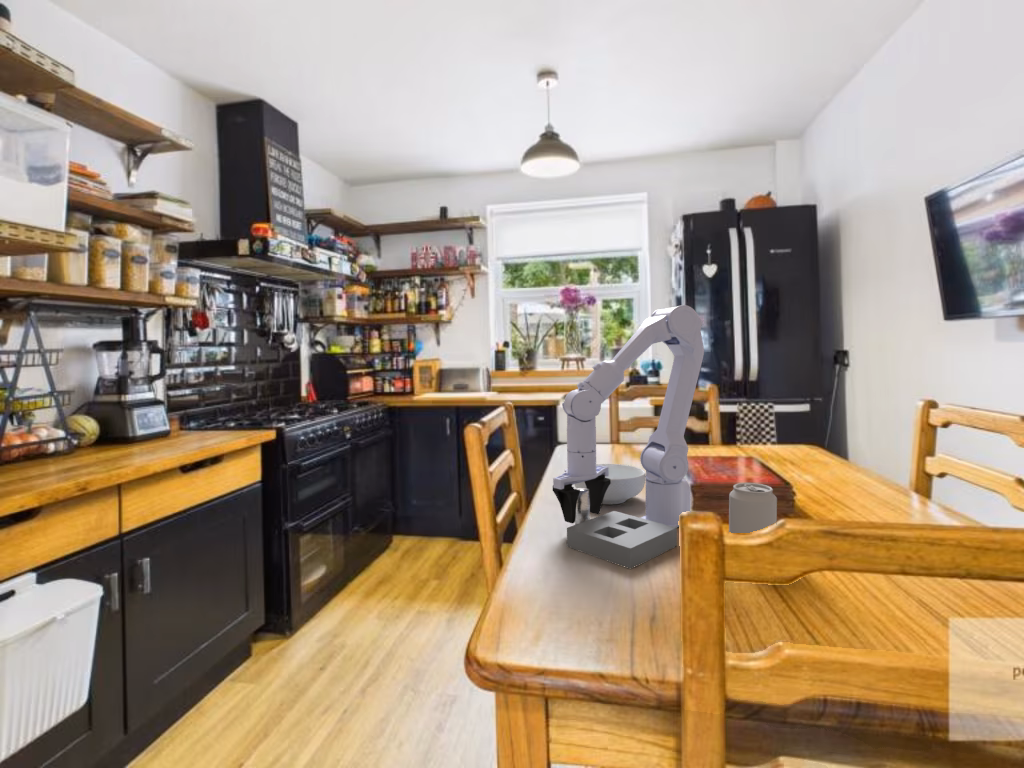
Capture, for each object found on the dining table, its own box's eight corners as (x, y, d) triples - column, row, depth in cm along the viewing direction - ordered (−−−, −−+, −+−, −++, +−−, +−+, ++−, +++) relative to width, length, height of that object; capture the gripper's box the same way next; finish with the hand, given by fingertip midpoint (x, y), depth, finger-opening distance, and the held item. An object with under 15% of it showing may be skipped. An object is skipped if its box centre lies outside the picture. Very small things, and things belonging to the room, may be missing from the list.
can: (748, 565, 88) (749, 494, 87) (719, 549, 95) (720, 482, 94) (786, 559, 90) (787, 489, 89) (754, 543, 97) (755, 479, 96)
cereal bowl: (640, 490, 134) (640, 462, 134) (650, 510, 118) (650, 479, 117) (572, 489, 136) (572, 462, 136) (573, 510, 120) (573, 479, 119)
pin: (581, 525, 109) (581, 487, 109) (593, 529, 107) (592, 490, 106) (571, 529, 107) (571, 490, 107) (583, 533, 105) (582, 493, 104)
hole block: (614, 527, 107) (614, 510, 107) (676, 546, 97) (676, 527, 97) (567, 546, 98) (566, 527, 98) (630, 569, 88) (630, 548, 87)
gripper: (589, 442, 114) (590, 505, 115) (541, 453, 104) (542, 521, 105) (616, 447, 108) (617, 512, 109) (568, 458, 99) (569, 530, 100)
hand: (582, 517), depth 107 cm, fingers open, 7 cm apart
